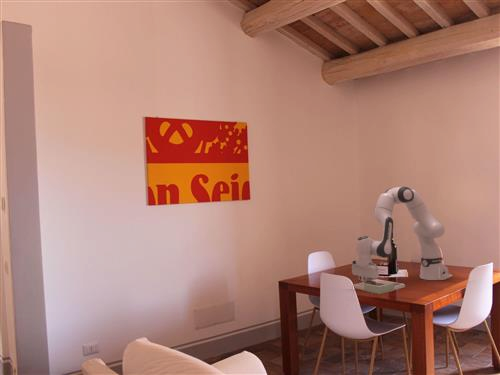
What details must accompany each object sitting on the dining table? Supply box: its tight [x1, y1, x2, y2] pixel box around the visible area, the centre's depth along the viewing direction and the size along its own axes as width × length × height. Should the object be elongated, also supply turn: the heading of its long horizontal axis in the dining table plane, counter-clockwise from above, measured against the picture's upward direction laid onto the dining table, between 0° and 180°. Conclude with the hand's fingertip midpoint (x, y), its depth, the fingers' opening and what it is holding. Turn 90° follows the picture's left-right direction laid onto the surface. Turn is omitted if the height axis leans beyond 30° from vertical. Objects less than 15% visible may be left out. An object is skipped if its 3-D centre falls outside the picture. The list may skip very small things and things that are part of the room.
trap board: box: [353, 278, 406, 295], centre depth 294 cm, size 24×24×4 cm
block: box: [365, 280, 376, 285], centre depth 291 cm, size 5×5×3 cm
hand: (365, 283), depth 294 cm, fingers closed
